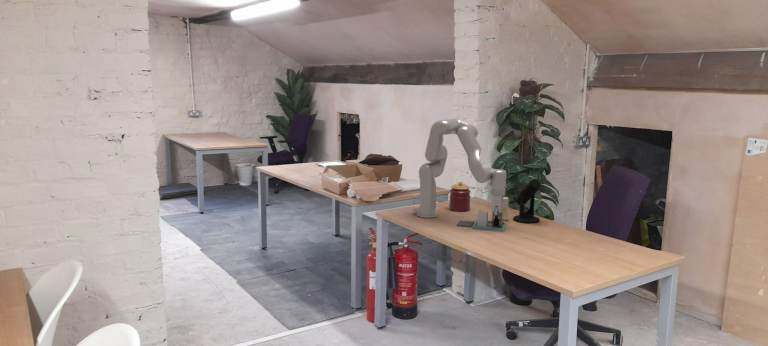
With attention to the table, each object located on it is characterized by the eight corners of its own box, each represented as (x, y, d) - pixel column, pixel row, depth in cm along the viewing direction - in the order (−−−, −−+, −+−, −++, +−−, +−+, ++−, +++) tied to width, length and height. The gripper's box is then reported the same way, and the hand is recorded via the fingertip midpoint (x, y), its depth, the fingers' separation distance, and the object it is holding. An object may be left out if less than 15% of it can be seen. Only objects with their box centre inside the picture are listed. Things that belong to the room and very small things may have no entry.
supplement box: (506, 218, 324) (507, 196, 322) (507, 220, 319) (508, 198, 317) (492, 218, 325) (493, 196, 323) (493, 220, 320) (494, 198, 318)
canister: (472, 208, 349) (473, 180, 346) (466, 212, 337) (467, 184, 334) (452, 206, 354) (453, 179, 351) (446, 210, 343) (447, 182, 340)
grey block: (477, 226, 306) (477, 212, 305) (478, 224, 311) (479, 210, 310) (486, 227, 305) (486, 213, 303) (487, 225, 309) (488, 211, 308)
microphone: (525, 225, 310) (528, 181, 305) (506, 218, 325) (508, 176, 321) (546, 222, 316) (549, 179, 311) (527, 215, 331) (529, 174, 327)
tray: (472, 228, 302) (472, 225, 302) (476, 222, 316) (476, 219, 316) (503, 231, 297) (503, 228, 297) (506, 224, 311) (506, 222, 310)
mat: (456, 225, 307) (456, 224, 307) (460, 221, 317) (460, 220, 317) (470, 227, 305) (470, 225, 305) (474, 222, 314) (474, 221, 314)
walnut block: (491, 228, 304) (492, 214, 302) (493, 225, 308) (493, 211, 307) (500, 229, 302) (501, 214, 301) (502, 226, 307) (502, 212, 305)
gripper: (493, 188, 311) (492, 220, 314) (489, 194, 295) (487, 227, 298) (507, 189, 309) (505, 221, 312) (503, 195, 293) (502, 229, 296)
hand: (497, 224), depth 305 cm, fingers closed on walnut block, 5 cm apart
